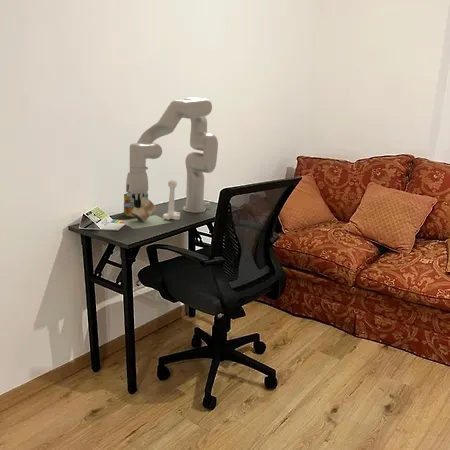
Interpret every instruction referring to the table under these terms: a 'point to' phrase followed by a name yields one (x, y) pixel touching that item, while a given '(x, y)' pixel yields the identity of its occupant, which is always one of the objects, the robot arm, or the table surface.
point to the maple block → (143, 210)
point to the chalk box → (130, 204)
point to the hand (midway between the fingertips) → (137, 207)
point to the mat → (149, 222)
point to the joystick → (171, 203)
